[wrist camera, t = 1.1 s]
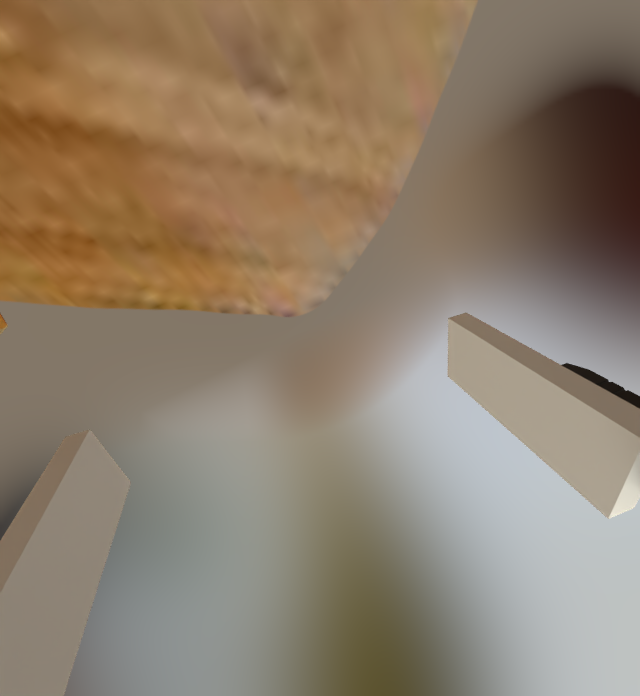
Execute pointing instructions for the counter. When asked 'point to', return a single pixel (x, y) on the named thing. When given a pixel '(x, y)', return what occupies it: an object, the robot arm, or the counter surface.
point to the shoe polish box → (2, 324)
